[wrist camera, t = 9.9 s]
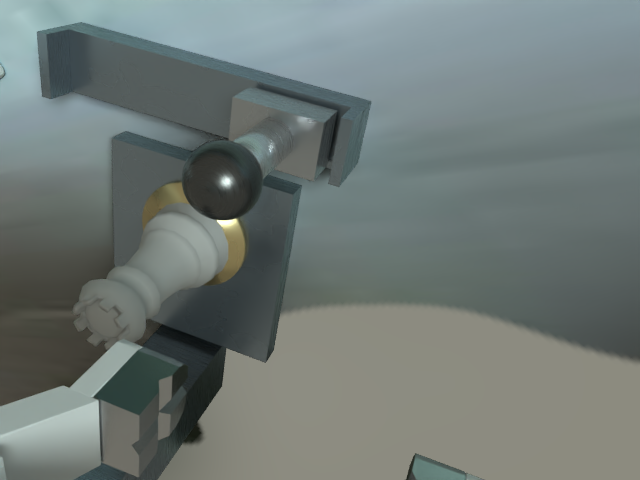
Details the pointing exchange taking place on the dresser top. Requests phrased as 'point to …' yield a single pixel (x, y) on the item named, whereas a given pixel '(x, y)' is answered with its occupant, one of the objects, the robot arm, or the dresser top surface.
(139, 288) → the rook chess piece
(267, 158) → the lever
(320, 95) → the press
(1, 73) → the skincare box
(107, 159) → the dresser top surface
